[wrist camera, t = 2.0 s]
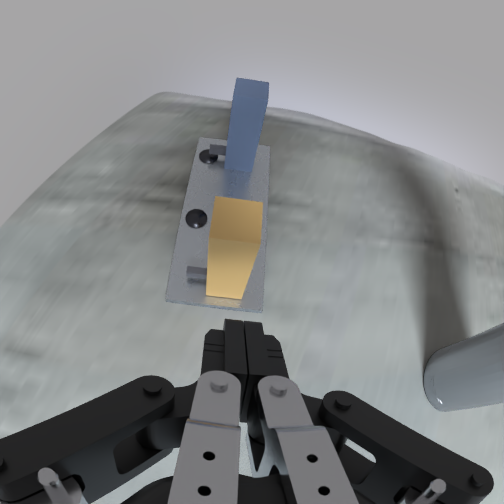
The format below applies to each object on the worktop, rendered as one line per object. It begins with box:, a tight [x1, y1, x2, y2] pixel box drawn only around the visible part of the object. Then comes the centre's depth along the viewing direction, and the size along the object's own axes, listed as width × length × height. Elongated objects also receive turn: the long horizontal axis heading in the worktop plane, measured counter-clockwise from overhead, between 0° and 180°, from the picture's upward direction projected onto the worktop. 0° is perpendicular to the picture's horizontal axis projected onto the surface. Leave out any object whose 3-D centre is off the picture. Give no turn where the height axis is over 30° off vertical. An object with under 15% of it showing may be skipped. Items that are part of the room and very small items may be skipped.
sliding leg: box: [186, 196, 263, 299], centre depth 32 cm, size 4×6×13 cm, turn 86°
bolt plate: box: [166, 137, 270, 313], centre depth 42 cm, size 26×11×1 cm, turn 176°
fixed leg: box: [209, 78, 269, 172], centre depth 41 cm, size 4×6×13 cm, turn 86°
